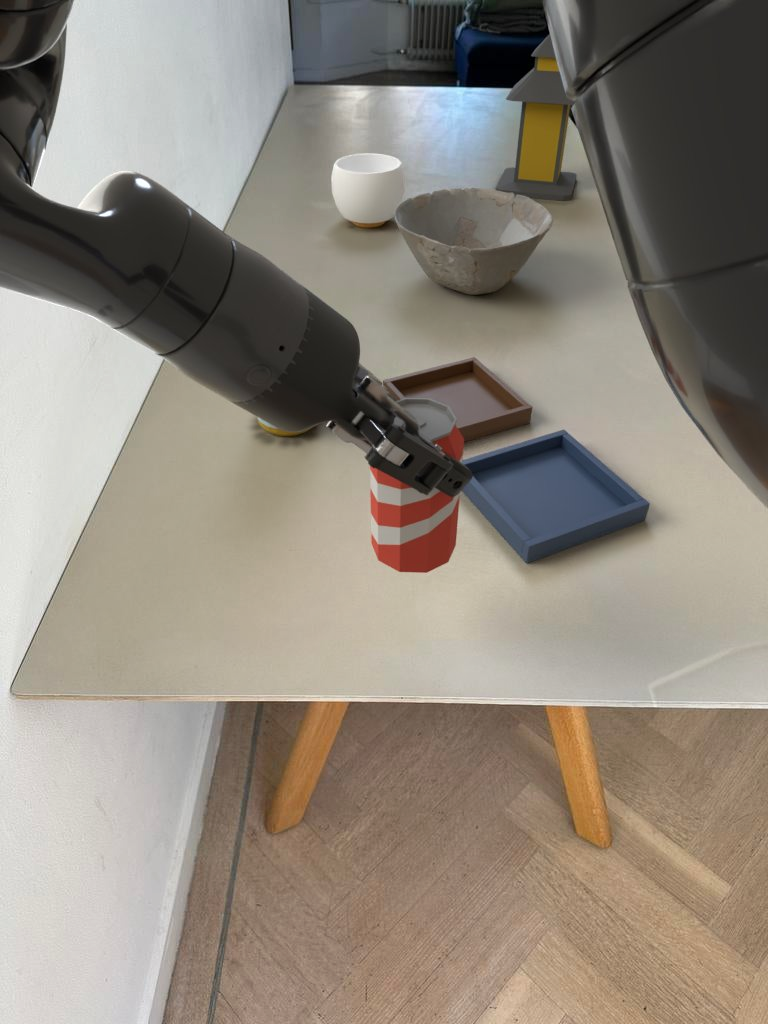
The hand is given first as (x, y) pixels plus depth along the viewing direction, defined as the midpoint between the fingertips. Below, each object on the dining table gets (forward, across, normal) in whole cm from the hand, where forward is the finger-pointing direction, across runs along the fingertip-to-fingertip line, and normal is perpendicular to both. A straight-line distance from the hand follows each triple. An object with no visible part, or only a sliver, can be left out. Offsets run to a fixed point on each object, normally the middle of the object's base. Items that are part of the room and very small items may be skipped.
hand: (436, 456), depth 53 cm
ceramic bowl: (+37, +55, -15) cm, 68 cm away
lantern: (+61, +87, -39) cm, 113 cm away
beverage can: (+5, 0, +7) cm, 9 cm away
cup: (+35, +84, -13) cm, 92 cm away
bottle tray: (+24, +26, -1) cm, 35 cm away
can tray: (+24, +8, -1) cm, 25 cm away
